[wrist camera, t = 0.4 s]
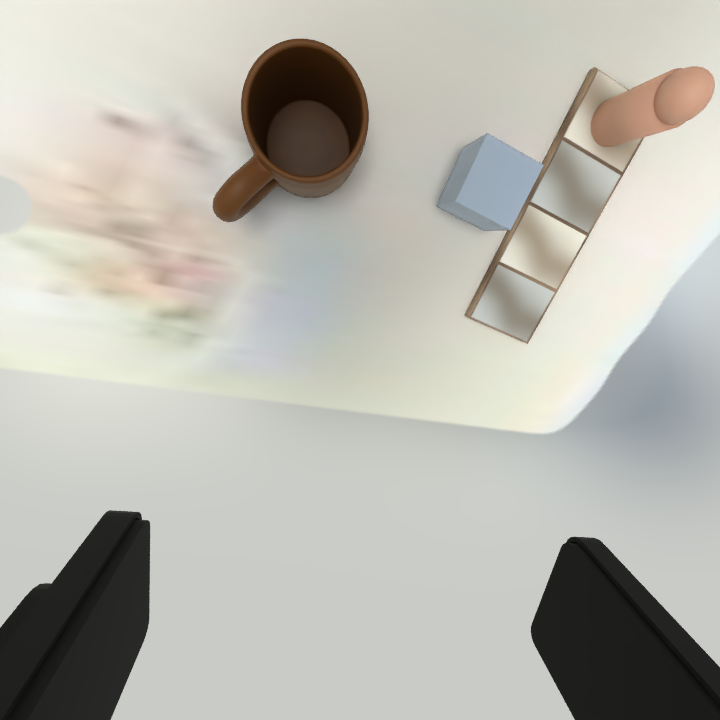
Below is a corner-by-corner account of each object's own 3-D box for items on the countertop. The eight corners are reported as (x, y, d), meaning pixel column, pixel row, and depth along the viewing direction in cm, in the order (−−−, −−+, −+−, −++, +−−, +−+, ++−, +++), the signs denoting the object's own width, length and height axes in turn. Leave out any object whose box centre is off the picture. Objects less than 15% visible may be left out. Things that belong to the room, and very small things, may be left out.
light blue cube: (462, 148, 32) (487, 133, 28) (511, 175, 34) (543, 165, 29) (435, 206, 34) (455, 201, 29) (484, 230, 35) (510, 229, 30)
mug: (272, 255, 33) (256, 263, 24) (202, 184, 31) (156, 163, 22) (374, 153, 32) (397, 121, 23) (308, 69, 29) (305, -2, 21)
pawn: (606, 89, 31) (702, 41, 24) (639, 111, 32) (742, 72, 24) (582, 134, 32) (667, 103, 25) (615, 155, 33) (707, 130, 25)
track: (589, 70, 32) (596, 66, 31) (653, 112, 33) (661, 109, 32) (464, 315, 37) (467, 317, 36) (524, 342, 38) (528, 344, 38)
